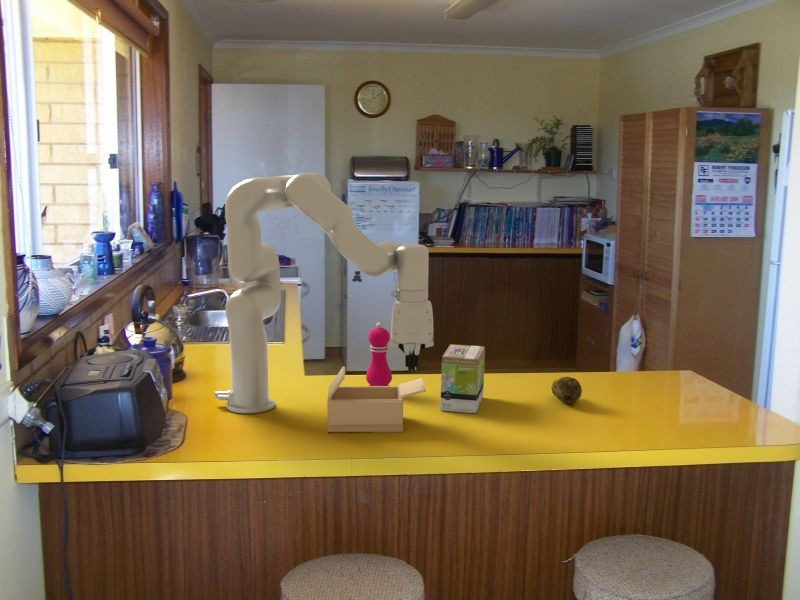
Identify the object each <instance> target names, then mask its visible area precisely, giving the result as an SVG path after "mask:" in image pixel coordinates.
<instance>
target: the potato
mask: <svg viewBox="0 0 800 600" xmlns="http://www.w3.org/2000/svg"><path fill="white" fill-rule="evenodd" d="M551 392H552V394H553V395H554V396H555V397H556V398H557V399H558V400H560V401H561V402H564V403H565V404H566V403H567V404H573V403H575V402H576V401H578V400H579V399H580V398H581V397H582V393H583V389H582V385H581V383H580V381H579V380H578V379H576V378H574V377H570V376H561V377H560V378H558V379H556V380H554V381H553V382H552V384H551Z"/></svg>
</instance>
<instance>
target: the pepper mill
mask: <svg viewBox="0 0 800 600" xmlns="http://www.w3.org/2000/svg"><path fill="white" fill-rule="evenodd" d="M367 340H368V342H369V343H370V344H369V345H370V346H369V348H370V349H369V351H370V352H371V360H370V364H369V366H368V369H367V372H366V374H365V375H366V376H365V380H366V382H367V383H368V386H390V385H389V384H390V383H391V382H392V381H393V375H392V371H391V369H390V366H389V364H388V359H387V351H389V345H388V344H389V343H390V340H391V333H390V331H388V330H387V329H386V328H384V327H383V323H382V322H380V321H378V322H377V323H376V324H375V328H372V329H371V330H370V331H369V333H368V336H367Z"/></svg>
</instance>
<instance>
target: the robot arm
mask: <svg viewBox="0 0 800 600" xmlns="http://www.w3.org/2000/svg"><path fill="white" fill-rule="evenodd" d="M281 209H297V210H298V211H299V212H300V213H302V214H303V215H304V216H305V217H307V218H308V219H309V220H310V221H311V222H313V223H314V225H316V226H317V227H318V228H319V229H321V231H323V232H324V234H326V235H327V236H328V238H329V240H330V241H331V243H332V245H333V246H334V248H336V250H337V251H338V253H340V255H341V256H342V257H343V258H344V259H346V260H347V262H349V263H350V264H352V266H354V267H355V268H356V269H357V270H359V271H360V272H361V273H363V274H364V275H367V276H368V277H371V278H372V277H375V278H377V277H381V276H383V275H385V274H389V273H391V272H396V289H395V290H392V291H391V290H390V297H393V298H395V299H396V300H394V302H393V303H392V304H393V305H392V311H391V321H390V340H389V345H390V347H392V348H396V349H397V348H398V349H400V351H401V352H403V354H404V356H405V358H404V359H405V361H404V363H405V364H404V365H405V368H407V370H408V372H411V371H412V372H415V371H416V368H418V367H419V355H420V353H422V351H423V350H424V349H426V348H430V347H434V345H435V343H434V342H435V341H434V314H433V305H432V302H431V300H428V298H429V262H430V261H429V258H430V257H429V248H428V247H427V246H426V245H424V244H419V243H417V244H416V243H408V244H406V243H405V244H404V243H397V242H394V241H393V242H392V241H381V242H378V243H375V242H374V241H372V240H371V239H370V238H369V237H367V235H365V233H363V232H362V231H361V229H359V228H358V227H357V226H356V223H355V221H354V219H353V211H352V210H351V209H352V208H351V207H350V206H348V205H347V204H346V203H345V202H344V201H343V200H342V199H340V198H339V197H338V196H337V195H335V194H334V193H333V192H332V186H331V183H330V182H329V180H328V178H327V177H326V176H324V175H323V174H322V173H319V172H302V173H298V174H297V173H296V174H290V175H289V174H288V175H276V176H275V175H274V176H257V177H251V178H247V179H244V180H243V181H240V182H239V183H237V184H236V185H234V186H233V187H232V188H231V189H230V191H229V192H228V193H227V197H226V198H225V205H224V215H225V223H226V241H227V242H226V243H227V244H226V245H227V263H228V264H227V265H228V271H229V275H230V276H231V278H232V279H233V280H234V281H236V282H238V283H243V284H245V283H246V285H247V286H245V287H242V288H239V289H237V290H235V291H234V292H233V293H231V294H230V295H229V297H228V298H227V301H226V304H225V315H226V317H225V318H226V322H227V325H228V335H229V349H230V352H229V353H230V381H231V388H230V390H226V391H223V390H219V391H217V390H216V391H215V392H214V398H215V399H217V400H218V401H226V403H225V408H226V409H227V410H228V411H229V412H233V413H236V414H257V413H258V414H259V413H264V412H267V411H271V410H272V409H273V408H275V405H276V404H275V399H273V398H272V397H269V361H268V359H269V356H268V336H267V331H266V327H265V324H264V320H266V319H268V318H270V317H273V316H274V315H275V314H276V313H277V312H278V310H279V309H280V305H281V302H282V299H281V298H282V294H281V293H282V290H281V288H282V287H281V271H280V270H281V268H280V266H281V265H280V260H279V257H278V256H279V255H278V253H277V252H276V250H275V248H273V246H271V245H270V244H268V243H266V242H262V228H261V225H260V221H259V219H258V214H259V213H261V212H267V211H273V210H281ZM409 344H412V345H413V344H414V346H413V350H412V351H411V350H410V347H409V346H410V345H409Z"/></svg>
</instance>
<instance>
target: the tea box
mask: <svg viewBox="0 0 800 600" xmlns="http://www.w3.org/2000/svg"><path fill="white" fill-rule="evenodd" d="M485 355H486V347H485V346H482V345H481V346H480V345H468V344H466V345H465V344H449V346H448V348H447V349H446V350H445V352H444V353H443V355H442V359H441V377H440V381H441V385H440V400H439V403H440V404H439V411H444V412H453V413H454V412H456V413H468V414H469V413H470V414H476V413H477V412H478V410H479V407H480V404H481V403H482V400H483V398H484V384H485V383H484V382H485V380H484V379H485V361H486V360H485V358H486V356H485Z"/></svg>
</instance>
